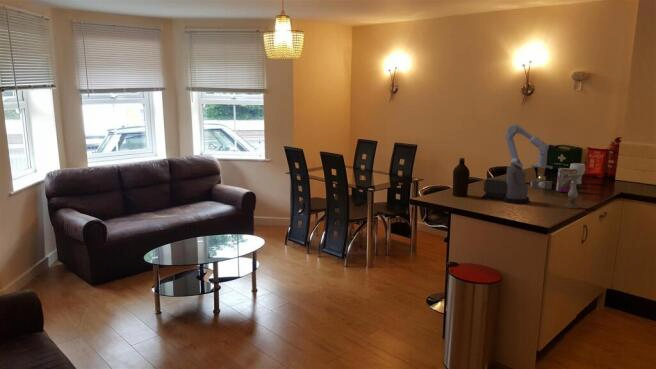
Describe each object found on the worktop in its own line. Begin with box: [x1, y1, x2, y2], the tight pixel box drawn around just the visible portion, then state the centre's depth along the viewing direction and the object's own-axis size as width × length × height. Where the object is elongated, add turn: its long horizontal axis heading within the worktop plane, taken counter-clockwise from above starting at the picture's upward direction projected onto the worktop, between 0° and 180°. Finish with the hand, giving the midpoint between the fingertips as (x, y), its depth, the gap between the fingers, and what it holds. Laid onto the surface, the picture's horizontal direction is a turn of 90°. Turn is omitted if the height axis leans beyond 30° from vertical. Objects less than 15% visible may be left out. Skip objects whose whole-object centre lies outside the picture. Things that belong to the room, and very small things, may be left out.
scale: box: [530, 179, 553, 190], centre depth 371 cm, size 13×17×5 cm
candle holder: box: [563, 173, 583, 210], centre depth 305 cm, size 9×9×20 cm
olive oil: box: [452, 157, 471, 198], centre depth 334 cm, size 11×11×25 cm
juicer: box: [480, 162, 532, 205], centre depth 322 cm, size 30×16×24 cm, turn 56°
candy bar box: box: [555, 167, 577, 193], centre depth 353 cm, size 11×5×16 cm, turn 84°
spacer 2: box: [538, 176, 546, 181], centre depth 370 cm, size 5×5×5 cm
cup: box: [569, 162, 586, 185], centre depth 386 cm, size 11×11×15 cm
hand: (540, 177), depth 375 cm, fingers closed on spacer 1, 5 cm apart
